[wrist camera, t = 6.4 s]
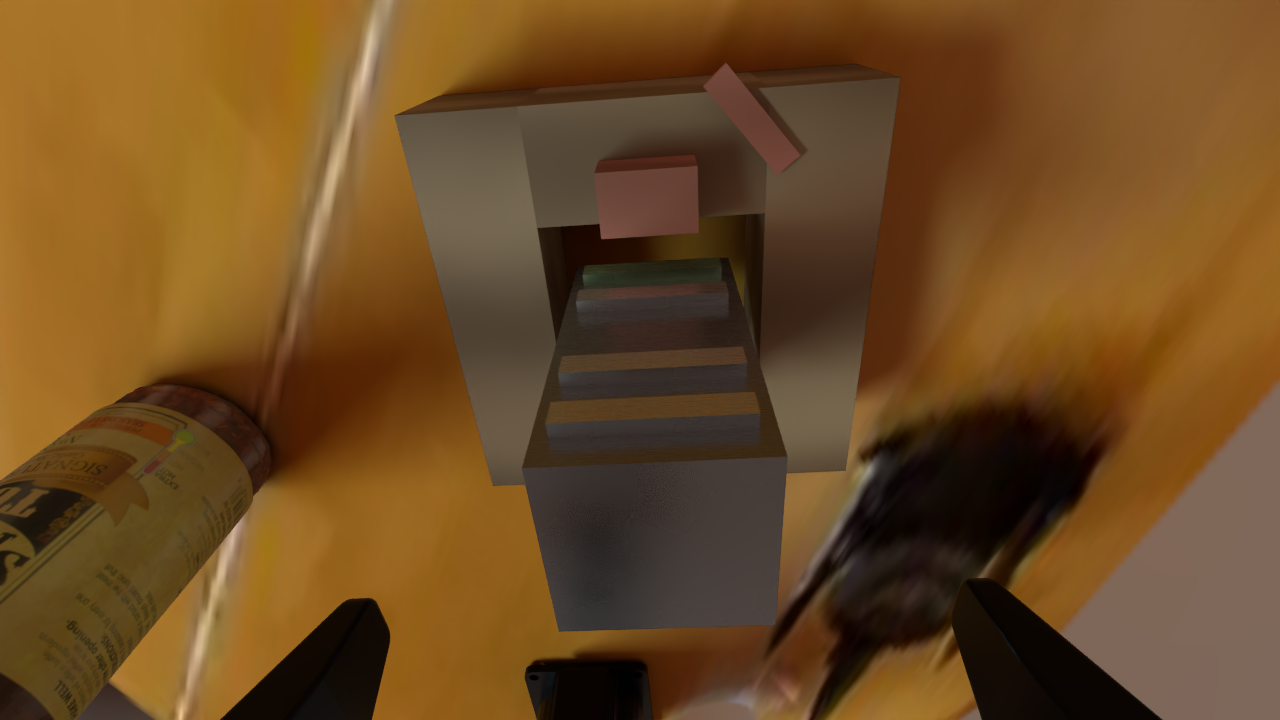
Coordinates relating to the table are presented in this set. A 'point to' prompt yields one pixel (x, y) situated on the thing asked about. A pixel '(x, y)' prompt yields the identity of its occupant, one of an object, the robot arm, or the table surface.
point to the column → (657, 455)
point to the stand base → (660, 224)
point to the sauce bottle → (113, 537)
